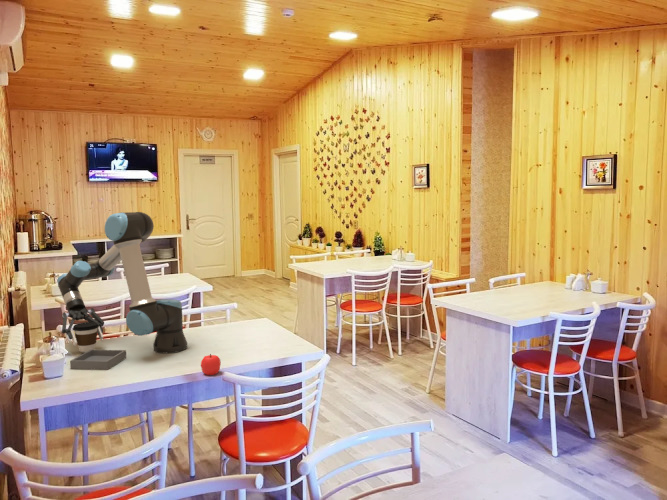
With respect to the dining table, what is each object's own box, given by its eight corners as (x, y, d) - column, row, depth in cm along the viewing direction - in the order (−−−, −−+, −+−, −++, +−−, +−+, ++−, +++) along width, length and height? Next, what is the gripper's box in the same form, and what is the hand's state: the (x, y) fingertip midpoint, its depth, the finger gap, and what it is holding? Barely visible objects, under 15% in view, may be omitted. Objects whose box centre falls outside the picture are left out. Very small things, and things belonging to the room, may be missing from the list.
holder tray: (91, 357, 240) (91, 349, 239) (126, 358, 238) (125, 350, 238) (70, 369, 224) (70, 360, 224) (107, 369, 222) (107, 361, 222)
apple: (196, 375, 215) (196, 355, 214) (208, 369, 222) (207, 350, 221) (214, 377, 212) (213, 357, 211) (225, 371, 219) (224, 351, 218)
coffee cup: (68, 352, 245) (66, 326, 243) (88, 345, 254) (87, 320, 253) (85, 355, 240) (83, 328, 239) (105, 348, 250) (104, 322, 248)
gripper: (97, 303, 264) (112, 340, 255) (45, 311, 248) (59, 351, 239) (101, 294, 260) (116, 331, 251) (48, 301, 244) (63, 342, 234)
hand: (88, 341), depth 245 cm, fingers closed on coffee cup, 11 cm apart
